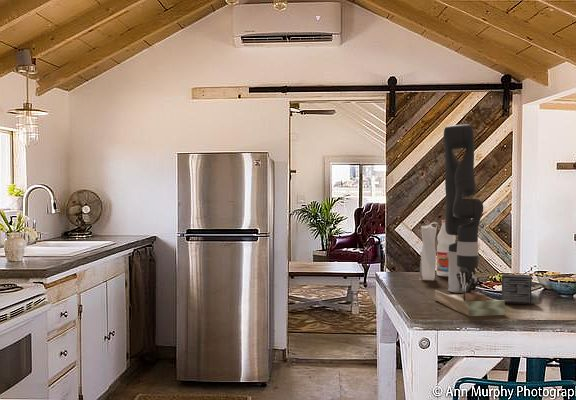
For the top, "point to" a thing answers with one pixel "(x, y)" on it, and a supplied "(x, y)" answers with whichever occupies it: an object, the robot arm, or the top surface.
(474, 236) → the robot arm
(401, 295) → the top surface
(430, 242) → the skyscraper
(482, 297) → the walnut block
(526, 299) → the small box
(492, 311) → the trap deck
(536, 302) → the top surface
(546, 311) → the top surface
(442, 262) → the fruit juice
